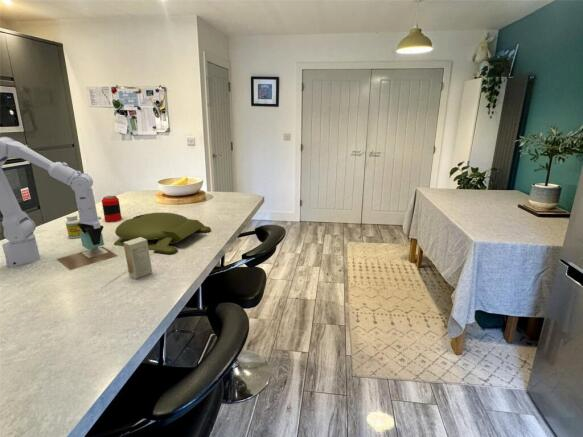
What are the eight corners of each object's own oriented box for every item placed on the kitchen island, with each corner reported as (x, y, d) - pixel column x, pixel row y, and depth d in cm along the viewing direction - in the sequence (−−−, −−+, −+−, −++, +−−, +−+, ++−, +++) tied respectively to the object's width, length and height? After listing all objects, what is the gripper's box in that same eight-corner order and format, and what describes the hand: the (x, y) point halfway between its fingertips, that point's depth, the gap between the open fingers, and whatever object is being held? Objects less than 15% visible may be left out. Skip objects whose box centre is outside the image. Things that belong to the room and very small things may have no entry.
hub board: (70, 272, 114) (68, 261, 113) (57, 261, 123) (54, 250, 122) (118, 258, 126) (116, 247, 125) (103, 248, 135) (101, 238, 133)
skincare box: (146, 269, 117) (141, 236, 114) (152, 272, 115) (148, 239, 111) (127, 275, 112) (122, 241, 109) (134, 279, 110) (128, 244, 106)
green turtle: (213, 230, 157) (211, 210, 154) (172, 256, 129) (169, 232, 126) (150, 223, 167) (147, 204, 164) (99, 246, 139) (95, 223, 136)
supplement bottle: (82, 233, 152) (78, 213, 149) (83, 237, 147) (79, 216, 145) (68, 235, 149) (64, 215, 146) (68, 239, 145) (64, 218, 142)
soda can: (121, 221, 169) (117, 198, 165) (104, 223, 166) (100, 199, 163) (122, 217, 175) (118, 194, 172) (106, 218, 173) (102, 196, 169)
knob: (88, 249, 124) (85, 237, 122) (82, 246, 127) (79, 233, 125) (104, 245, 128) (101, 232, 126) (98, 241, 131) (95, 229, 129)
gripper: (106, 208, 121) (112, 244, 125) (90, 202, 130) (97, 235, 134) (85, 213, 116) (92, 249, 120) (70, 205, 125) (77, 240, 129)
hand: (93, 242), depth 127 cm, fingers closed on knob, 6 cm apart
